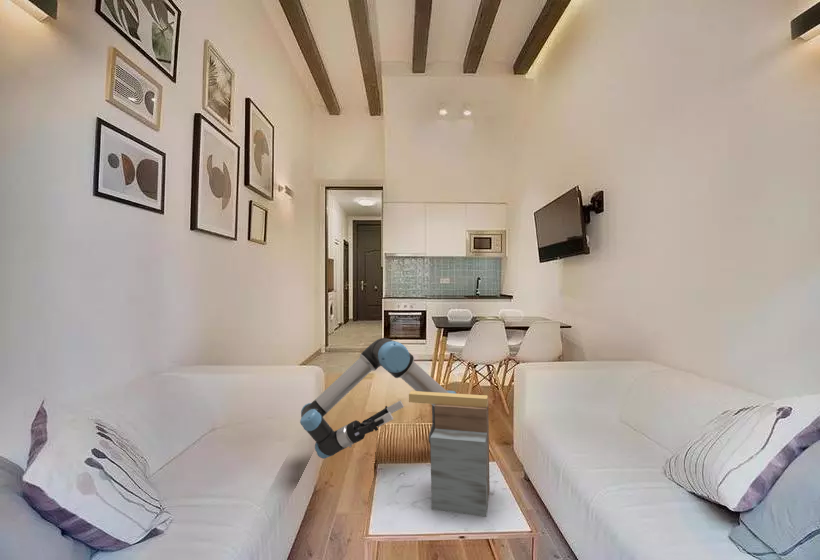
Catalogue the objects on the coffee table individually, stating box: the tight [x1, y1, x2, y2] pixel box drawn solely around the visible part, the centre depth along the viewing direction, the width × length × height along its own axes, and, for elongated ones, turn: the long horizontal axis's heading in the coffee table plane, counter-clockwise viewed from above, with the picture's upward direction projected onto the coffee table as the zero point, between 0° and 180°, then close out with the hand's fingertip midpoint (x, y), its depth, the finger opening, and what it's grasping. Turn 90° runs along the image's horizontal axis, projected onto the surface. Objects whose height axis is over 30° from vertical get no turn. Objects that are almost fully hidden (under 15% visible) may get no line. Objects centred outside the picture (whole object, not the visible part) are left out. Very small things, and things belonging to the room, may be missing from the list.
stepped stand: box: [429, 404, 491, 517], centre depth 139 cm, size 16×18×32 cm
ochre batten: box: [408, 390, 489, 407], centre depth 144 cm, size 4×28×3 cm, turn 75°
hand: (397, 409), depth 149 cm, fingers open, 13 cm apart
